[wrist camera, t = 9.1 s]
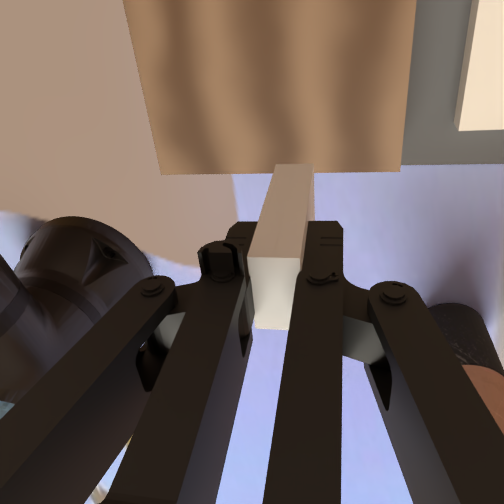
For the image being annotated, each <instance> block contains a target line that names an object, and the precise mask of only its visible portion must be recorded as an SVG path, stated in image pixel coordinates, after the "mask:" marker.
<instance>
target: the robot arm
mask: <svg viewBox="0 0 504 504" xmlns="http://www.w3.org/2000/svg"><path fill="white" fill-rule="evenodd" d="M197 253H198V258H199V264H200V269H201V274H202V275H201V278H200V280H199V281H197V282H195V283H191V284H186V285H181V286H175V282H174V281H173V280H172V279H171V278H169V277H167V276H160V275H156V276H153V274H152V271H151V268H150V266H149V264H148V262H147V260H146V258H145V257H144V255H143V254H142V253H141V251H140V250H139V249H138V248H137V247H136V246H135V244H134V243H132V242H131V241H130V240H129V239H128V238H127V237H126V236H124V235H123V234H122V233H120V232H119V231H117V230H115V229H114V228H112V227H110V226H108V225H106V224H104V223H102V222H99V221H96V220H93V219H89V218H84V217H76V216H68V217H60V218H56V219H53V220H51V221H49V222H47V223H45V224H44V225H43V226H42V227H40V228H39V229H38V230H37V231H36V232H35V233H34V234H33V235H32V236H31V237H30V238H29V239H28V241H27V242H26V244H25V245H24V247H23V250H22V252H21V256H20V261H19V262H18V264H17V265H16V267H15V269H14V271H13V270H12V269H11V268H10V266H9V265H8V264H7V262H6V261H5V260H4V258H3V257H2V256H1V254H0V504H84V503H85V501H86V500H87V499H88V497H89V496H90V494H91V493H92V492H93V490H94V489H95V487H96V486H97V484H98V483H99V482H100V480H101V479H102V477H103V476H104V475H105V473H106V472H107V470H108V469H109V467H110V466H111V465H112V463H113V462H114V460H115V459H116V458H117V456H118V455H119V453H120V452H121V450H122V449H123V448H124V446H125V445H126V443H127V442H128V440H129V439H130V438H131V436H132V435H133V436H132V438H131V441H130V443H129V445H128V448H127V450H126V452H125V455H124V457H123V459H122V462H121V464H120V466H119V468H118V471H117V473H116V475H115V478H114V480H113V482H112V485H111V487H110V489H109V492H108V494H107V496H106V497H105V499H104V500H103V501H102V502H101V503H99V504H215V503H216V498H217V494H218V490H219V485H220V481H221V476H222V472H223V468H224V463H225V459H226V455H227V450H228V446H229V442H230V437H231V433H232V429H233V424H234V420H235V415H236V411H237V407H238V402H239V398H240V394H241V389H242V385H243V381H244V376H245V372H246V368H247V363H248V359H249V354H250V350H251V346H252V341H253V336H252V323H253V319H254V321H255V328H258V329H277V330H289V331H288V337H287V344H286V351H285V357H284V364H283V371H282V377H281V384H280V391H279V397H278V404H277V410H276V417H275V424H274V430H273V437H272V444H271V450H270V457H269V464H268V470H267V477H266V483H265V490H264V497H263V503H262V504H341V438H342V355H343V356H346V357H349V358H352V359H355V360H358V361H361V362H364V368H365V371H366V374H367V377H368V379H369V382H370V385H371V388H372V390H373V393H374V396H375V399H376V402H377V404H378V407H379V410H380V413H381V415H382V418H383V421H384V424H385V426H386V429H387V432H388V435H389V438H390V440H391V443H392V446H393V449H394V451H395V454H396V457H397V460H398V462H399V465H400V468H401V471H402V473H403V476H404V479H405V482H406V485H407V487H408V490H409V493H410V496H411V498H412V501H413V504H504V434H503V433H502V431H501V429H500V428H499V426H498V424H497V423H496V421H495V419H494V418H493V416H492V414H491V413H490V411H489V409H488V408H487V406H486V404H485V403H484V401H483V400H482V398H481V396H480V395H479V393H478V391H477V390H476V388H475V386H474V385H473V383H472V381H471V380H470V378H469V376H468V375H467V373H466V371H465V370H464V368H463V366H462V365H461V363H460V361H459V360H458V358H457V356H456V355H455V353H454V351H453V350H452V348H451V347H450V345H449V343H448V342H447V340H446V338H445V337H444V335H443V333H442V332H441V330H440V328H439V327H438V325H437V323H436V322H435V320H434V318H433V317H432V315H431V313H430V312H429V310H428V308H427V307H426V305H425V303H424V302H423V300H422V298H421V297H420V295H419V293H418V292H417V291H416V290H415V289H414V288H413V287H411V286H409V285H407V284H405V283H401V282H397V281H384V282H380V283H377V284H375V285H374V286H372V287H371V288H370V290H366V289H363V288H360V287H357V286H355V285H353V284H351V283H350V282H349V281H347V280H346V278H345V277H344V274H343V228H342V227H341V225H340V224H339V223H338V221H315V210H314V164H276V166H275V169H274V172H273V176H272V179H271V182H270V185H269V188H268V192H267V195H266V198H265V201H264V204H263V207H262V211H261V214H260V217H259V220H258V222H237V223H236V224H234V225H233V226H232V227H231V228H230V229H229V231H228V233H227V236H226V239H225V240H223V241H214V242H211V243H208V244H206V245H204V246H203V247H201V248H200V250H199V251H198V252H197ZM144 342H145V343H144ZM142 345H143V346H142ZM141 346H142V347H141ZM140 347H141V348H140ZM133 433H134V434H133Z"/></svg>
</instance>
